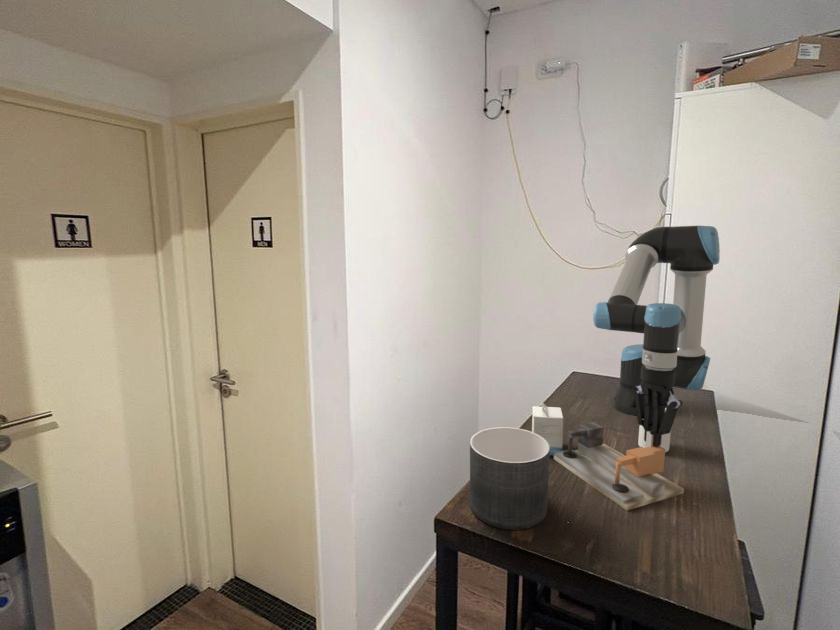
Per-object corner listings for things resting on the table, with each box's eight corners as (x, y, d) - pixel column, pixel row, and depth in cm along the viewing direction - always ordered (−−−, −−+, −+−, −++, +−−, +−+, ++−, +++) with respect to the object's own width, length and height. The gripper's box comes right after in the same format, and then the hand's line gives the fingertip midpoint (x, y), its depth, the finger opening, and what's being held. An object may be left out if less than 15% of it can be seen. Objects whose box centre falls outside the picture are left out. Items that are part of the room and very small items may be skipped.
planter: (466, 485, 113) (467, 427, 110) (537, 485, 112) (539, 426, 109) (473, 530, 95) (473, 462, 92) (556, 531, 94) (559, 463, 92)
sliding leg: (652, 467, 114) (654, 443, 113) (666, 475, 110) (668, 450, 109) (609, 479, 109) (610, 454, 108) (622, 487, 105) (623, 461, 104)
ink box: (562, 457, 126) (564, 412, 124) (532, 454, 128) (533, 410, 126) (559, 443, 134) (561, 401, 132) (531, 441, 136) (532, 399, 134)
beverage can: (634, 448, 130) (637, 410, 128) (643, 439, 136) (645, 402, 134) (664, 457, 125) (668, 417, 123) (672, 447, 131) (675, 409, 129)
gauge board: (603, 447, 131) (605, 417, 130) (683, 493, 107) (686, 457, 106) (553, 459, 125) (555, 427, 123) (626, 510, 101) (629, 472, 99)
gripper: (625, 361, 114) (620, 447, 118) (670, 375, 102) (662, 470, 106) (647, 358, 116) (641, 442, 120) (693, 371, 104) (685, 464, 108)
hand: (651, 455), depth 113 cm, fingers closed
